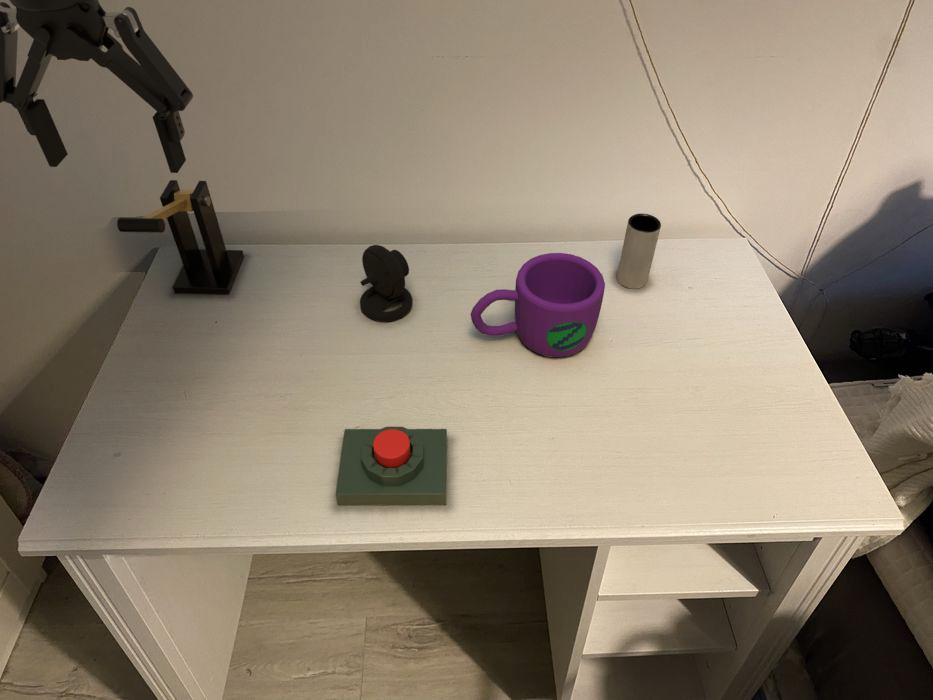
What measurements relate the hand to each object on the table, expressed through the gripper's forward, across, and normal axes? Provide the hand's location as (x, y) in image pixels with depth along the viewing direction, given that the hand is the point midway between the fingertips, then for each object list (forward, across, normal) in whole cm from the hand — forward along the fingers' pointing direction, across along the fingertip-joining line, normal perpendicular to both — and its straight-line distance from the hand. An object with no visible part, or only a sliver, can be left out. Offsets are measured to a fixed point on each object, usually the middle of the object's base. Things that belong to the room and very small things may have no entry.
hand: (118, 163), depth 79 cm
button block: (+26, -32, +20) cm, 46 cm away
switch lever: (+12, 0, -6) cm, 13 cm away
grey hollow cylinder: (+26, -62, -17) cm, 70 cm away
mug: (+26, -48, -3) cm, 55 cm away
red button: (+22, -32, +20) cm, 44 cm away
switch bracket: (+26, 0, -12) cm, 29 cm away
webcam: (+26, -27, -8) cm, 38 cm away
